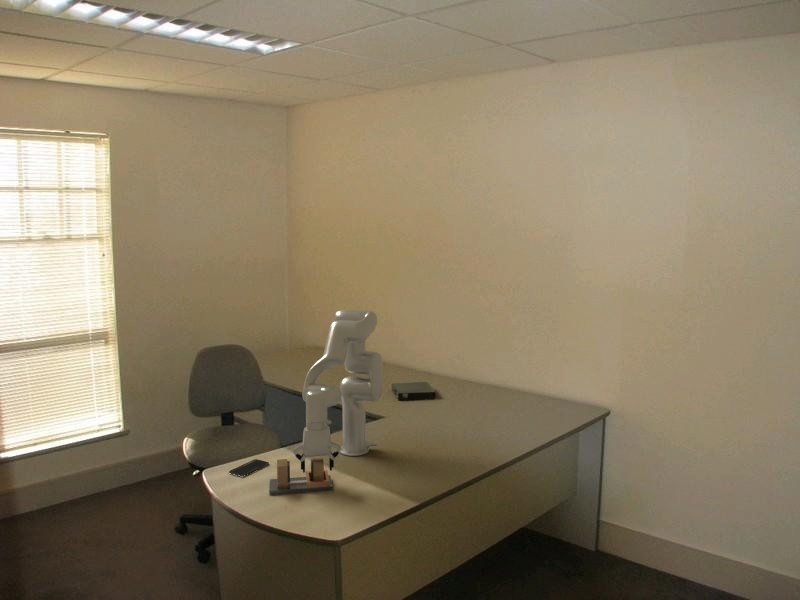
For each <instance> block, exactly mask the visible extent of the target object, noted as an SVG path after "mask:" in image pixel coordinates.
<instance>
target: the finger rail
mask: <svg viewBox="0 0 800 600" xmlns="http://www.w3.org/2000/svg"><path fill="white" fill-rule="evenodd" d="M290 462H291V461H290V460H288V459H287V458H286V459H285V458H283V459H282V458H281V459H276V471H277V472H276V475H277V477H276V478H273V479H272V478H270V479H269V490H268V491H269V492H268V495H269V496H274V495H276V496H277V495H289V494H299V493H301V494H302V493H313V492H326V491H327V492H328V491H333V484H332V483H333V482H332V477H331V474H329V471H328V470H327V469H324V480H322V481H311V470H309V471H305V476H301V477H300V476H298V477H297V476H296V477H291V464H290Z"/></svg>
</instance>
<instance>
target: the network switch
mask: <svg viewBox="0 0 800 600" xmlns="http://www.w3.org/2000/svg"><path fill="white" fill-rule="evenodd" d="M391 392H392V393H393V395H395V397H396V399H398V400H397V401H400V402H402V401H403V402H404V401H414V400H415V401H416V400H417V401H418V400H423V399H427V400H435V399H436V396H437V394H436V390H435V389H434V388H433V386H432V385H431V383H429V382H428V381H418V382H417V381H415V382H398V383H397V382H394V383H392V384H391Z"/></svg>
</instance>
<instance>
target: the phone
mask: <svg viewBox="0 0 800 600" xmlns="http://www.w3.org/2000/svg"><path fill="white" fill-rule="evenodd" d="M269 465H270V462H269V461H266V460H262V459H257V458H256V459H255V458H254V459H252V460H250V461H248V462H246V463H244V464H241V465H240V466H237V467H235V468H232V469H231V470H229V471H228V474H229V473H231V474H235V475H240V476H244V475H247V474H250V473H252V472H254V471H256V470H258V471H260V470H262V469H265V468H266V467H268V466H269ZM261 468H262V469H261ZM259 469H260V470H259ZM256 472H257V471H256ZM254 473H255V472H254ZM231 474H230V475H231ZM252 474H253V473H252ZM235 475H234V476H235ZM250 475H251V474H250Z"/></svg>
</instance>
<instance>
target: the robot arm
mask: <svg viewBox="0 0 800 600" xmlns="http://www.w3.org/2000/svg"><path fill="white" fill-rule="evenodd" d="M377 325H378V317H377V314H376V313H375V312H374V311H373V310H363V309H361V310H360V309H340V310H339V309H338V310H337V311H336V312H335V313H334V321H333V322H332V323H330V327H329V329H328V332H327V333H328V334H327V337H326V341H325V346H324V349H323V350H324V351H323V354H322V357H320V359H318V360H317V361H316V362H315V363H314V364H313V365H312V366H311V367H310V369H309V370H308V371H307V373H306V376H305V379H304V382H303V388H302V394H301V395H302V400H303V402H305V421H306V422H305V423H306V424H305V425H306V426H305V427H304V428H303V433H302V443H300V444H299V445H297V446H296V447H294V448H292V452H293V454H294V456H295V458H297V460H299V462H300V470H302V473H303V474H304V473H305V474H306V462H305V461H306V459H307V458H308V457H310V458H311V457H324V456H327V457H328V459H329V461H328V462H329V464H328V465H329V467H328V468H329V471H331V472H332V471H333V468H334V466H335V463H334V461H335V459H336V457H338V455H339V454H341V455H344V456H349V457H355V456H356V457H357V456H358V457H359V456H363V455H366V454H367V453H369V451H370V447H377V446H378V442H377V441H374V440H368V439H366V408H365V404H364V403H363V402H362V401H364V402H378V401H379V400H380V399H381V398H382V393H383V384H384V383H383V379H384V378H383V377H384V376H383V375H384V362H383V356H382V355H381V354H380V352H377V351H368V350H366V340H367V339H368V338H369V337H370V336H371V334H372V333H373V332H374V331H375V329H376V328H377ZM343 364H344V369H345V371H346V372H347V373H349V374H355V375H366V376H367V375H368V377H366V376H365V377H364V376H355V375H354V376H351V375H349V376H346V377H344V378H343V379H342V380H341V381H340V384H339V386H338V385H337V386H336V385H331V384H324V383H317V380H318V379H319V376H321V375H322V374H323V373H325V372H326V371H329V370H331V369H333V368H336V367H338V366H341V365H343ZM340 401H341V404H342V406H341V407H342V445H339V444H338V443H336V442H335V443H334V442H333V441H332V437H331V429H330V426H329V425H332V420H330V419H328V408H331V407H334V406H337V405H338V404H339V403H340ZM332 448H334V449H335V451H334V452H332ZM300 450H302V454H300V453H299V451H300Z"/></svg>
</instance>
